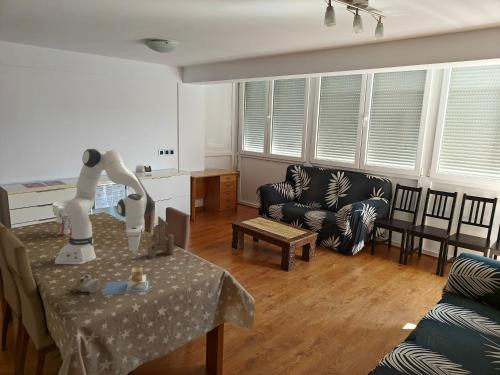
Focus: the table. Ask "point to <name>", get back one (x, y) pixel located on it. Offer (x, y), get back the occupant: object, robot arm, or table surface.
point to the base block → (137, 284)
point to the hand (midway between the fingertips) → (135, 253)
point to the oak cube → (137, 274)
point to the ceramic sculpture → (85, 285)
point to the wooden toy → (160, 240)
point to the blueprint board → (122, 288)
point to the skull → (62, 217)
